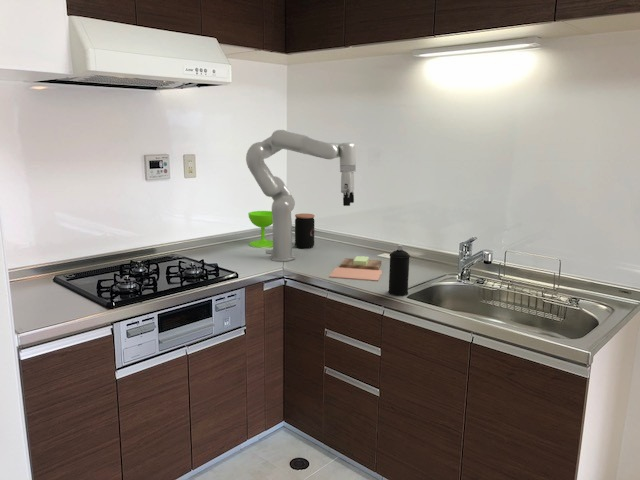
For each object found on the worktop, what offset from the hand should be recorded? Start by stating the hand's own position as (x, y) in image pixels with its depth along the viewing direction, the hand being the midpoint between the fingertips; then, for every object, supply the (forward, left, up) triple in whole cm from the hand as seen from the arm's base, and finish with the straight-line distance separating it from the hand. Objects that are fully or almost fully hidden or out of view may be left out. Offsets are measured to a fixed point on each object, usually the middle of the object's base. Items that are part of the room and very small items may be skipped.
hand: (348, 204), depth 253 cm
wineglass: (-53, +24, -29) cm, 65 cm away
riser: (+8, -7, -29) cm, 31 cm away
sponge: (+8, -8, -26) cm, 28 cm away
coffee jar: (-29, +25, -29) cm, 48 cm away
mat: (+8, -21, -29) cm, 37 cm away
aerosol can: (+29, -43, -29) cm, 60 cm away
